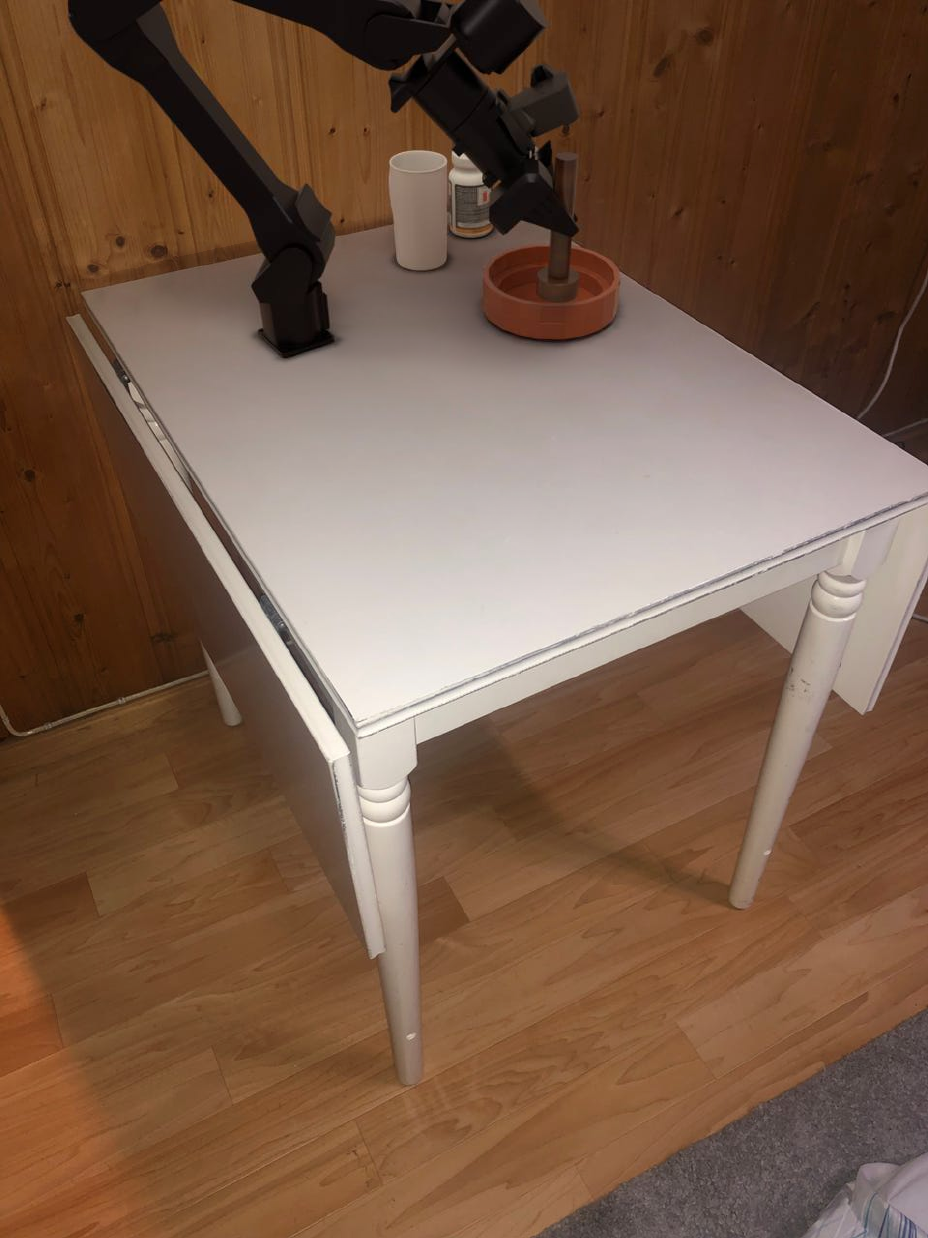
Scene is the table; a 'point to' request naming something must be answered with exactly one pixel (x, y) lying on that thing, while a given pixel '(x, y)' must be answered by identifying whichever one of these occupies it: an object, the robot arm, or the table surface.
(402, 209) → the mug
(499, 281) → the bowl
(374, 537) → the table surface
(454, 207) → the pill bottle
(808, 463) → the table surface
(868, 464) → the table surface
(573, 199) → the stick
